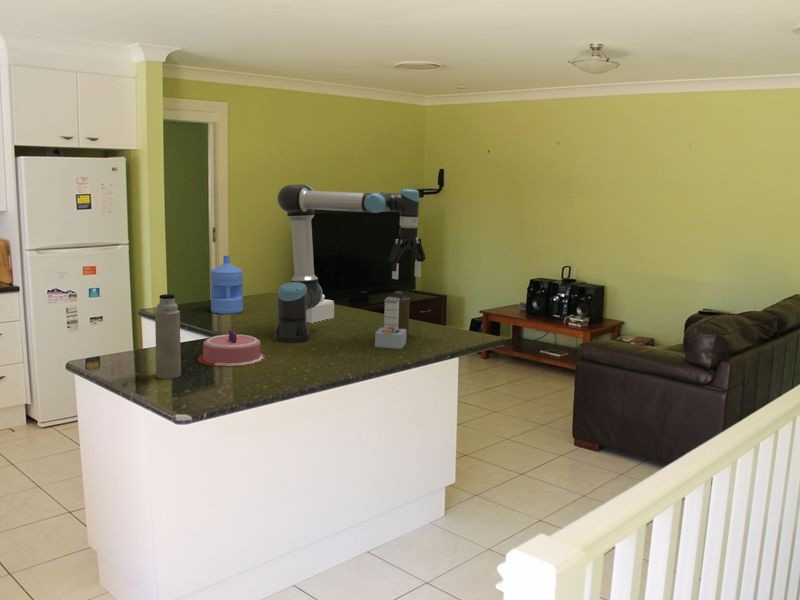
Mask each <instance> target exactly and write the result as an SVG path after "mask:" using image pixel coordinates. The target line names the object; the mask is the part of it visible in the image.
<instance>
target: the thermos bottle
mask: <svg viewBox="0 0 800 600" xmlns="http://www.w3.org/2000/svg"><path fill="white" fill-rule="evenodd" d="M178 308H179V306H178V304H177V303H176V301H175V294H169V293H166V294H165V293H164V294H159V302H158V304H157V305H156V311H154V323H155V330H154V331H155V363H156V365H155V366H156V367H155V368H156V377H157V378H159V379H164V380H165V379H166V380H167V379H176V378H180V376H181V375H182V364H181V363H182V361H181V360H182V358H181V357H182V356H181V353H182V352H181V314H180V312H181V311H180V310H178Z"/></svg>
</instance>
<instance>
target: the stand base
mask: <svg viewBox="0 0 800 600" xmlns="http://www.w3.org/2000/svg"><path fill="white" fill-rule="evenodd" d="M406 332H407V329H398V333H392V329H386V330H385V332H384V327H379V328H378V330H377V331H376V332H374V348H384V349H398V350H399V349H400V350H402V349H404V348H403V347H404V346H405V345H406V344H407V337H406Z"/></svg>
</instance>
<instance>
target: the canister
mask: <svg viewBox="0 0 800 600" xmlns="http://www.w3.org/2000/svg"><path fill="white" fill-rule="evenodd" d="M388 297H393V298H400V301H399V321H398V322H399V323H398V329H407V332H406V338H407V337H408V336H409V332H410V331H409V329H410V328H409V327H410V300H411V297H409V296H405V295H404V293H403V291H394V295H390V296H388Z"/></svg>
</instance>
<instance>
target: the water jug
mask: <svg viewBox="0 0 800 600" xmlns="http://www.w3.org/2000/svg"><path fill="white" fill-rule="evenodd" d="M230 257H231V256H230V255H223V264H220V265H218V266H217V267H214V268H212V269H211V270H210V296H211V298H210V299H211V301H210V302H211V303H210V304H211V305H210V311H211V313H214V314H216V313H218V315H235V314H234V313H236V314H240V313H242V312H243V311H244V305H243V304H244V302H243V300H244V289H243V288H244V287H243V285H244V284H243V281H244V280H243V279H244V276H243V275H244V273H243V272H244V271H243V270H242V269H241V268H238V266H237V267H236V266H235V265H233V264H232V263H231V259H230Z"/></svg>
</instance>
